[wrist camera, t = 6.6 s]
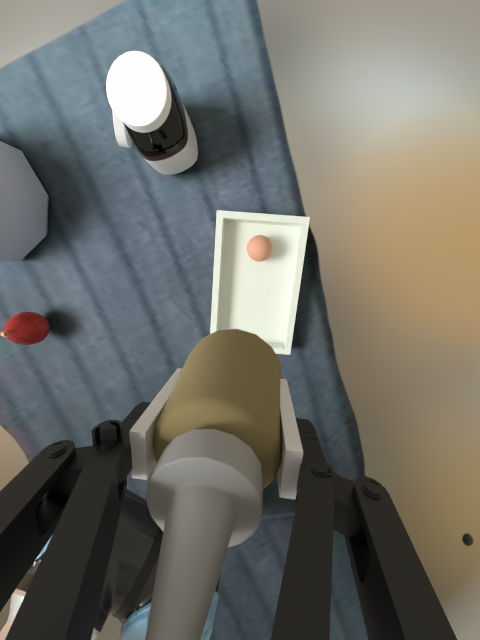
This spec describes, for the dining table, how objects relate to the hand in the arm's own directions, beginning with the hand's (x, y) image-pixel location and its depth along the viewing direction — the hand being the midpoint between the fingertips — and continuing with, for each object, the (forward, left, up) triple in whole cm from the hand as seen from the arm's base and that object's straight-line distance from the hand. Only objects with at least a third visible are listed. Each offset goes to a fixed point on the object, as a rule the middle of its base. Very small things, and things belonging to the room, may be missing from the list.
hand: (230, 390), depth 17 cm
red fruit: (-5, +39, -26) cm, 47 cm away
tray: (+6, -1, -25) cm, 26 cm away
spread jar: (+27, +16, -26) cm, 40 cm away
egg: (+12, -1, -25) cm, 27 cm away
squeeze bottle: (0, 0, -6) cm, 6 cm away
